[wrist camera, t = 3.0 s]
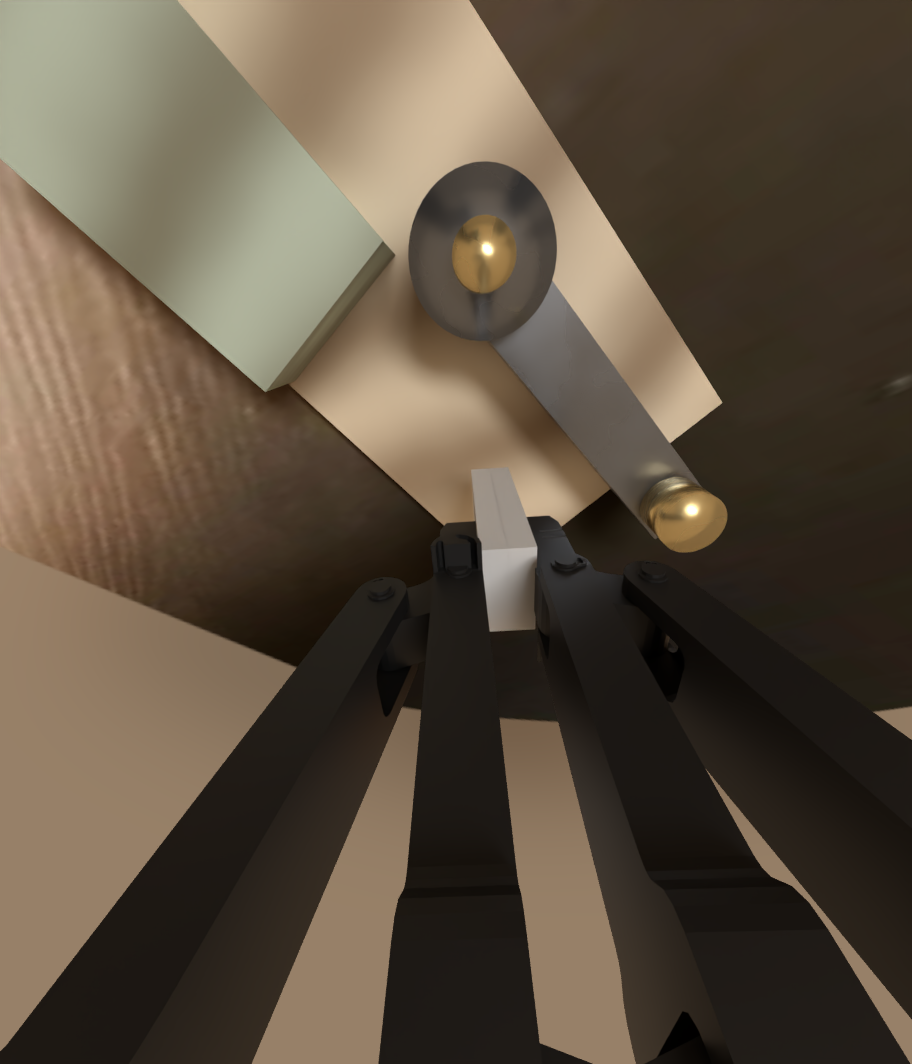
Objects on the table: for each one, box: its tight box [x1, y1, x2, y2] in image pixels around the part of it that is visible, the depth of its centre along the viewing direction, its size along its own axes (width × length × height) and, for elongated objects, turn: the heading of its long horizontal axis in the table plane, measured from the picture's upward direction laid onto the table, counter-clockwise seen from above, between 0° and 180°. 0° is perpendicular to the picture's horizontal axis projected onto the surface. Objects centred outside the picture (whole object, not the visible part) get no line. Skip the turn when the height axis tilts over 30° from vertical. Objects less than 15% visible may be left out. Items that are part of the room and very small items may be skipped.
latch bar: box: [408, 161, 727, 552], centre depth 15 cm, size 15×4×5 cm, turn 44°
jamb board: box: [0, 0, 722, 526], centre depth 14 cm, size 25×13×4 cm, turn 44°
